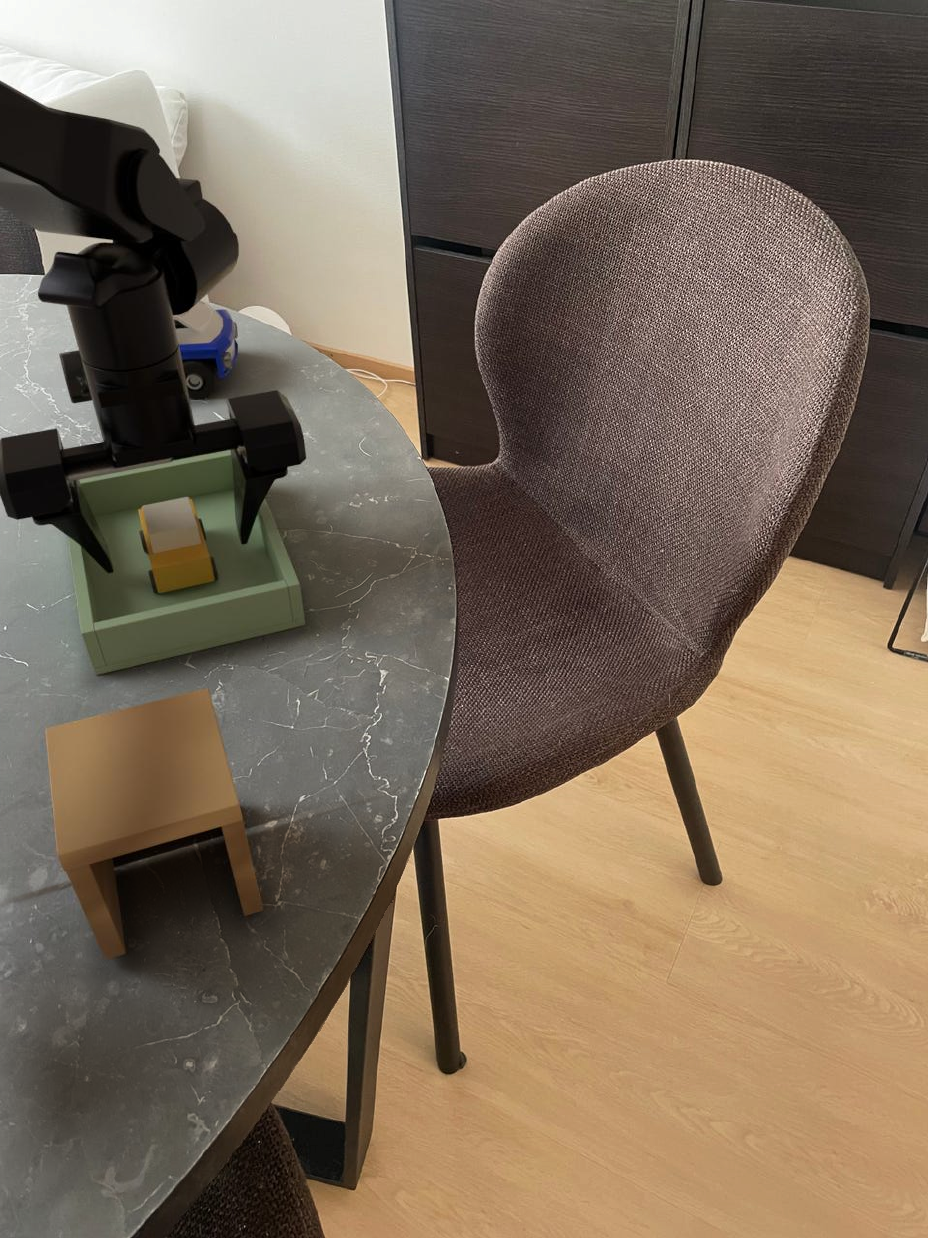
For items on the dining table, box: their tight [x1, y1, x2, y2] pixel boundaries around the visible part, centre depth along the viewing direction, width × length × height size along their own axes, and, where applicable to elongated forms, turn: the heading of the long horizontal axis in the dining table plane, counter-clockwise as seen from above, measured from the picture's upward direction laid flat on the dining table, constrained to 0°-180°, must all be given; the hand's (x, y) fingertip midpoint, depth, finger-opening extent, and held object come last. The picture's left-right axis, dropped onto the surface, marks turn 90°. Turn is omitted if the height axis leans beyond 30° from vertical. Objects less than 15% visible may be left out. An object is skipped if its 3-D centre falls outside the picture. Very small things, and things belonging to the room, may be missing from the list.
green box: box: [66, 450, 306, 676], centre depth 70 cm, size 14×18×4 cm
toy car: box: [173, 300, 239, 400], centre depth 90 cm, size 9×12×10 cm
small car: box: [138, 497, 218, 593], centre depth 70 cm, size 7×4×4 cm, turn 21°
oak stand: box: [44, 687, 264, 960], centre depth 49 cm, size 8×8×9 cm
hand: (177, 554), depth 71 cm, fingers open, 9 cm apart
